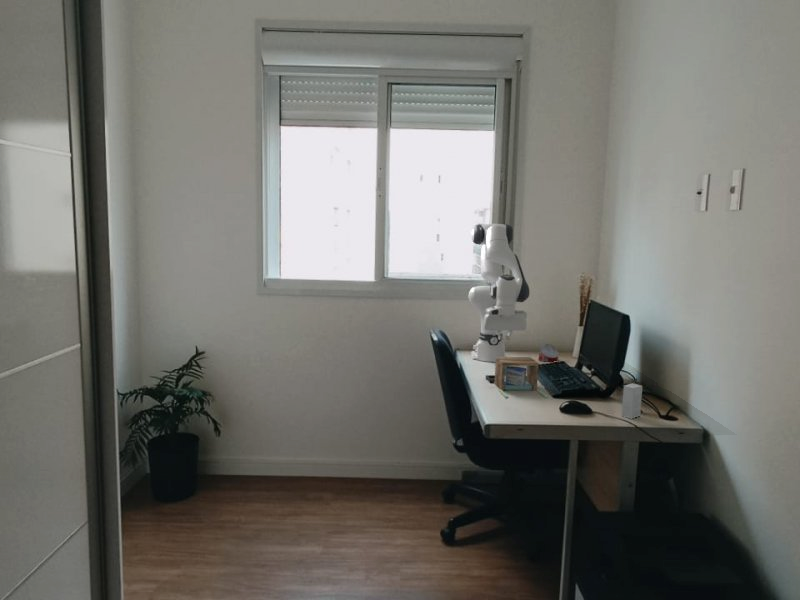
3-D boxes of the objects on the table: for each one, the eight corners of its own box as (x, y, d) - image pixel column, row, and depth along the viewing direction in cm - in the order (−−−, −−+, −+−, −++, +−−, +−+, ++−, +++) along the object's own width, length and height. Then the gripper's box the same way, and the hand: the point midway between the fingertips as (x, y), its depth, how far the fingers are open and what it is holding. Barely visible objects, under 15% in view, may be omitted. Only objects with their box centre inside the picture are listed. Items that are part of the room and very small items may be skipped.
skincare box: (629, 413, 206) (632, 382, 205) (640, 416, 203) (643, 385, 201) (620, 416, 203) (623, 385, 201) (631, 419, 199) (634, 388, 198)
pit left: (485, 378, 249) (485, 375, 249) (496, 378, 250) (496, 375, 250) (489, 382, 242) (489, 379, 242) (500, 382, 243) (500, 379, 243)
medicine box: (504, 386, 236) (506, 367, 235) (507, 384, 240) (509, 365, 239) (522, 389, 233) (524, 369, 232) (525, 387, 237) (526, 367, 236)
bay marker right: (536, 390, 233) (536, 389, 232) (539, 390, 233) (539, 389, 233) (545, 397, 223) (545, 396, 223) (548, 397, 223) (548, 396, 223)
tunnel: (494, 384, 241) (495, 357, 239) (528, 383, 242) (530, 357, 241) (501, 390, 231) (502, 362, 229) (536, 390, 233) (538, 362, 231)
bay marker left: (498, 390, 231) (498, 389, 230) (501, 390, 231) (501, 389, 231) (505, 398, 221) (505, 396, 221) (508, 398, 221) (508, 396, 221)
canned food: (554, 368, 291) (564, 352, 289) (550, 370, 282) (561, 354, 280) (536, 356, 295) (546, 340, 293) (532, 357, 286) (542, 342, 284)
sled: (490, 375, 253) (491, 363, 252) (515, 375, 254) (516, 363, 254) (504, 389, 232) (505, 376, 231) (531, 389, 233) (532, 375, 232)
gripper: (524, 309, 256) (523, 338, 258) (482, 309, 254) (481, 338, 256) (529, 311, 250) (527, 341, 252) (486, 311, 248) (484, 340, 249)
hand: (503, 339), depth 254 cm, fingers open, 2 cm apart
